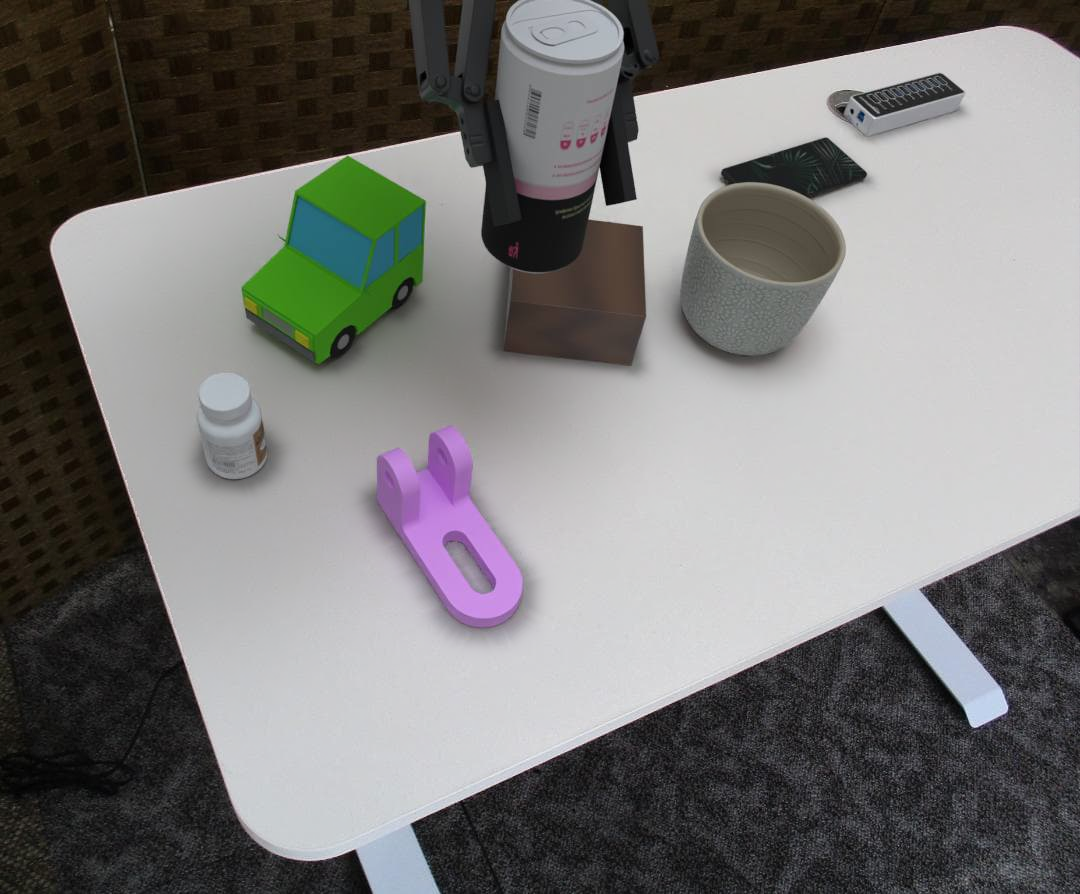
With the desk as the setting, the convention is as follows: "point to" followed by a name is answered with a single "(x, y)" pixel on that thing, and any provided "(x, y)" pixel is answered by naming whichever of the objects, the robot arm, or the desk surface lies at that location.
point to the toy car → (339, 261)
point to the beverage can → (553, 125)
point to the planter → (758, 266)
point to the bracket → (448, 528)
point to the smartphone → (800, 168)
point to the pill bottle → (231, 426)
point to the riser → (583, 301)
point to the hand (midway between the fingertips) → (565, 212)
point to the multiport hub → (903, 104)
